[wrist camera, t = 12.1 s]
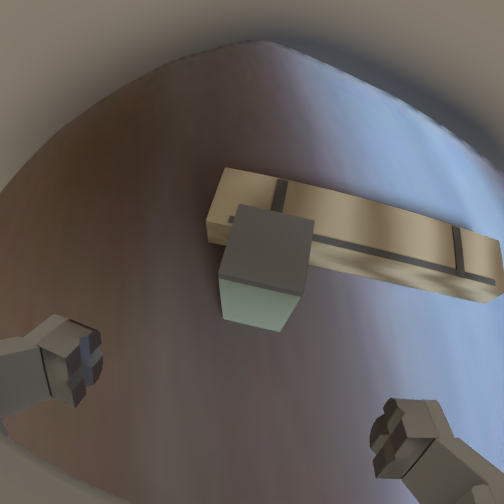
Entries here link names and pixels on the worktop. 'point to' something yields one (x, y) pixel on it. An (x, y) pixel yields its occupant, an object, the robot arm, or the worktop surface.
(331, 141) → the worktop surface
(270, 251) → the post
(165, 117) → the worktop surface
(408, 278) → the maple plank
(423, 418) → the robot arm
